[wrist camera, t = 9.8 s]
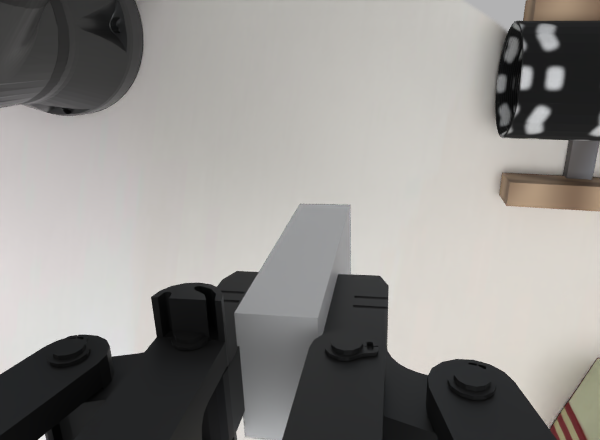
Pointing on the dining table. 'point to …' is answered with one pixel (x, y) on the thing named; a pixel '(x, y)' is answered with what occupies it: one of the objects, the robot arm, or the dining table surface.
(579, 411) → the gift box
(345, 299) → the robot arm
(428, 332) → the dining table surface
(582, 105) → the spotted tube
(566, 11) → the cradle
